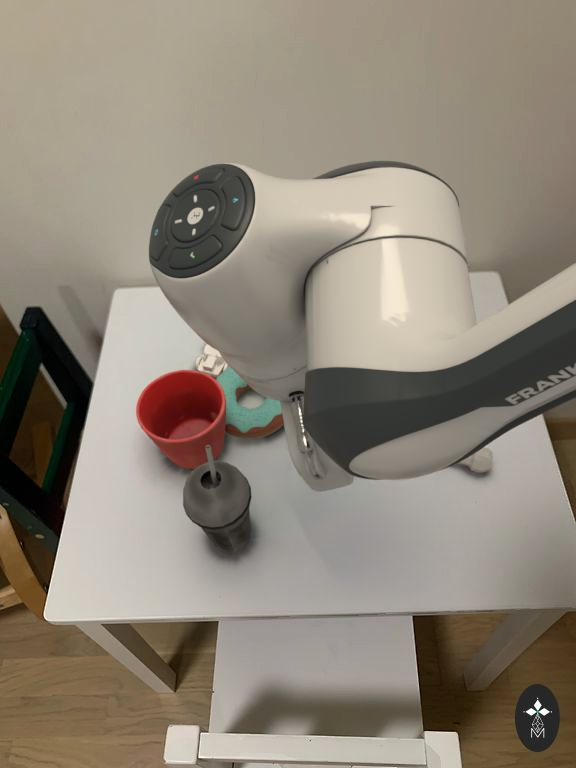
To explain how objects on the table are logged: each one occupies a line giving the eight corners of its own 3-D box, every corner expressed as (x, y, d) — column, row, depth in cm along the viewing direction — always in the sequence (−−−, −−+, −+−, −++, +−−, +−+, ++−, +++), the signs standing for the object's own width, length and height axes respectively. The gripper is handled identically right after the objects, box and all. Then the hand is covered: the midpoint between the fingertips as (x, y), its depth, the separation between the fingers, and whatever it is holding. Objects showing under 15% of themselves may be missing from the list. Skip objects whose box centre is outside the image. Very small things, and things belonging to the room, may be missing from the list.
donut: (192, 411, 82) (187, 395, 79) (251, 358, 87) (248, 341, 84) (255, 460, 77) (251, 445, 74) (314, 401, 82) (313, 384, 79)
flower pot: (180, 399, 84) (165, 357, 76) (249, 425, 81) (240, 384, 73) (139, 461, 78) (118, 423, 71) (211, 491, 75) (197, 455, 67)
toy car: (193, 377, 86) (188, 359, 83) (214, 336, 90) (210, 318, 87) (224, 384, 85) (219, 367, 81) (244, 342, 89) (240, 324, 86)
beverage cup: (192, 553, 71) (149, 479, 55) (218, 500, 75) (185, 415, 58) (247, 575, 69) (220, 504, 53) (271, 519, 73) (253, 437, 56)
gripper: (352, 459, 40) (383, 496, 53) (302, 223, 49) (338, 302, 61) (266, 481, 42) (315, 511, 54) (231, 246, 50) (281, 319, 62)
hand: (327, 399), depth 58 cm, fingers open, 8 cm apart
